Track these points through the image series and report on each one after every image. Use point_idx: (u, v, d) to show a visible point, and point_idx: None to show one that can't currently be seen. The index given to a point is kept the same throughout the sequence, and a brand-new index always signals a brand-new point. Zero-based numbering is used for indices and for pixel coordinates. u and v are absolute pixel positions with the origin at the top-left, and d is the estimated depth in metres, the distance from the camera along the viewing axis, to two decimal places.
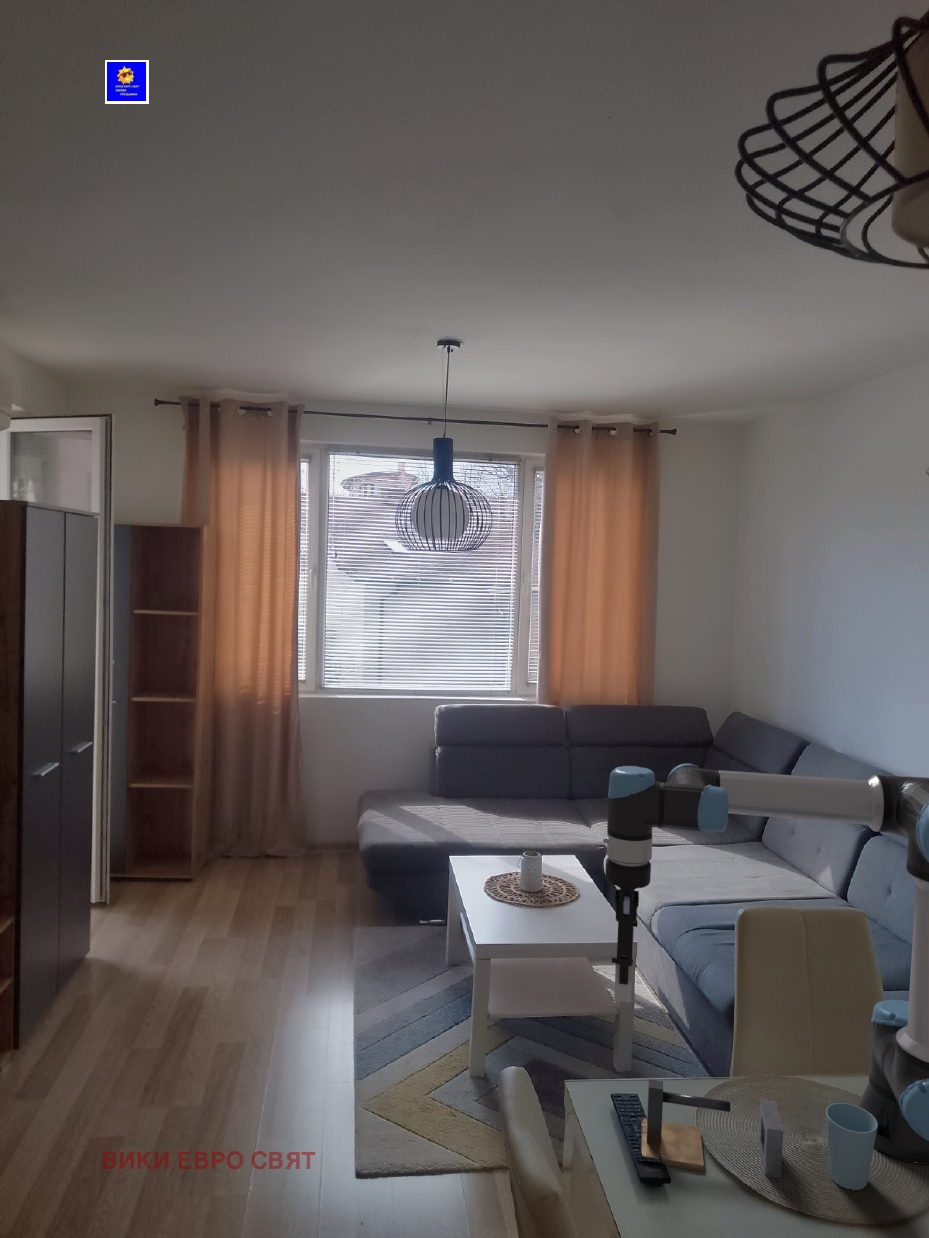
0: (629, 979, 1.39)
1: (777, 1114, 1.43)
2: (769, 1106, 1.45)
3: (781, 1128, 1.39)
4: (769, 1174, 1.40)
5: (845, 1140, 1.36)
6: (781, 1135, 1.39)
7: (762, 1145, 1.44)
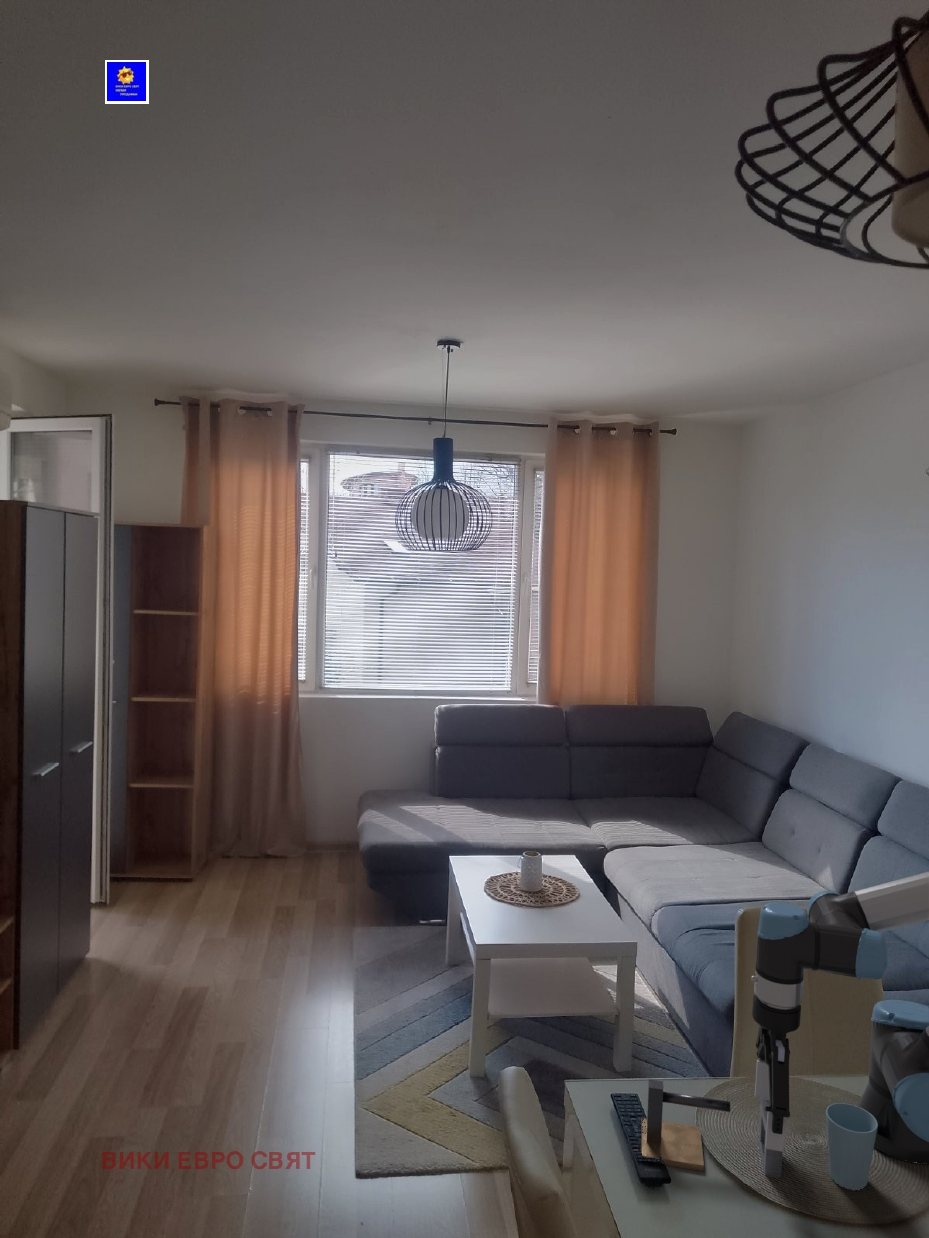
0: (782, 1128, 1.36)
1: None
2: None
3: None
4: (769, 1174, 1.40)
5: (845, 1140, 1.36)
6: None
7: (762, 1145, 1.44)
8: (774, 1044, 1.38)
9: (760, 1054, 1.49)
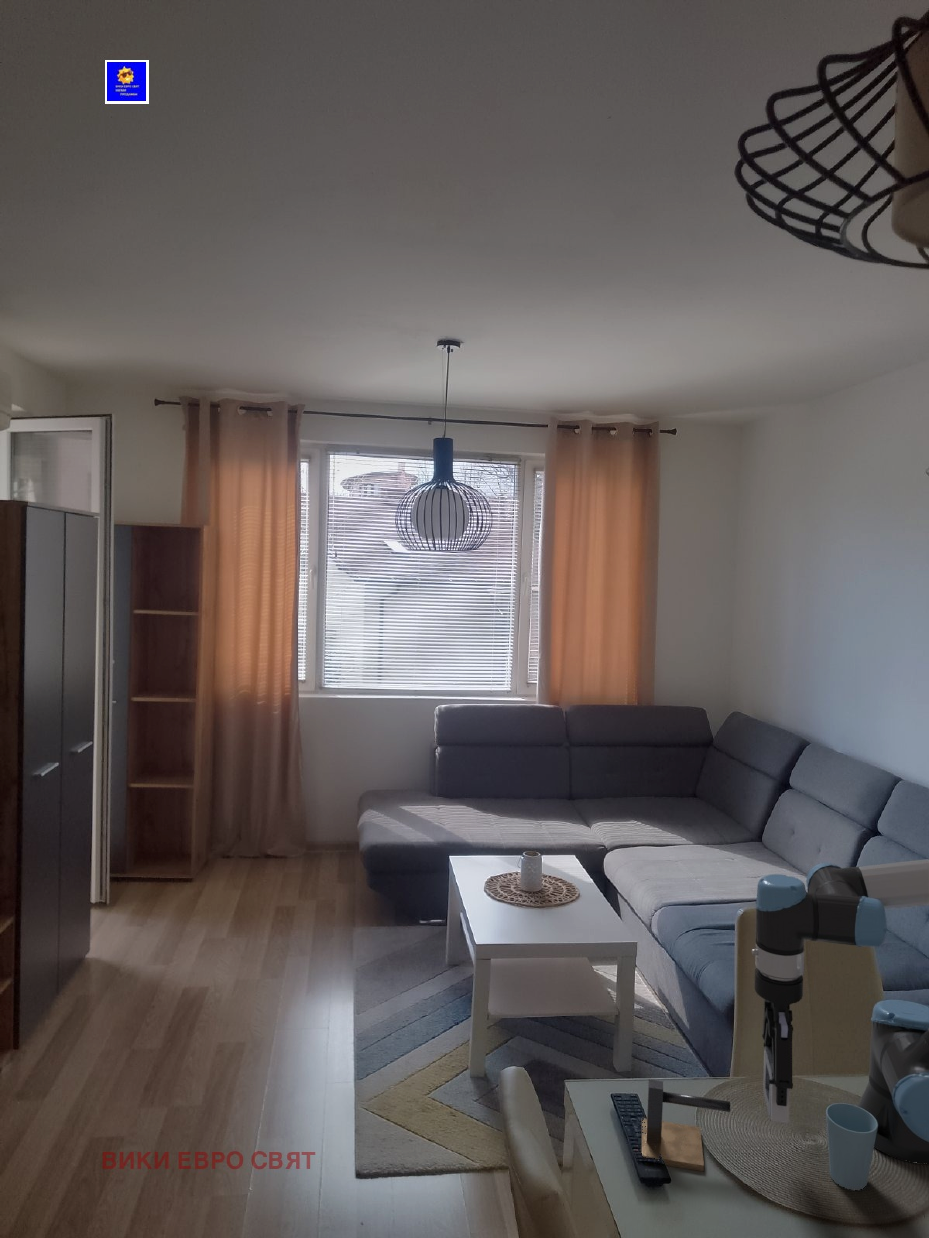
0: (786, 1100, 1.38)
1: None
2: None
3: None
4: None
5: (845, 1140, 1.36)
6: None
7: (767, 1092, 1.44)
8: (777, 1018, 1.38)
9: (767, 1042, 1.47)
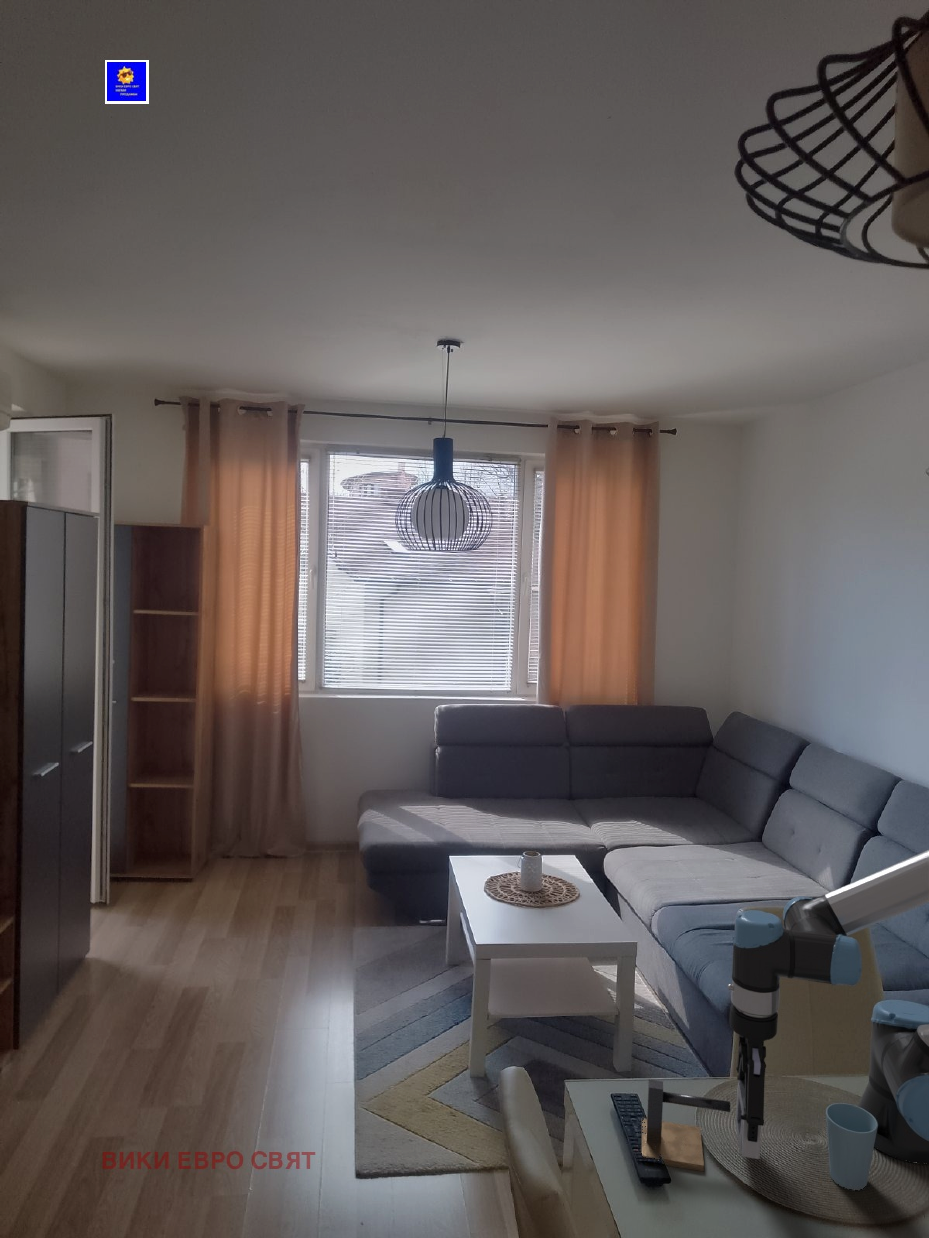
0: (757, 1135, 1.38)
1: None
2: None
3: None
4: None
5: (845, 1140, 1.36)
6: None
7: (739, 1125, 1.45)
8: (751, 1054, 1.39)
9: (740, 1075, 1.47)
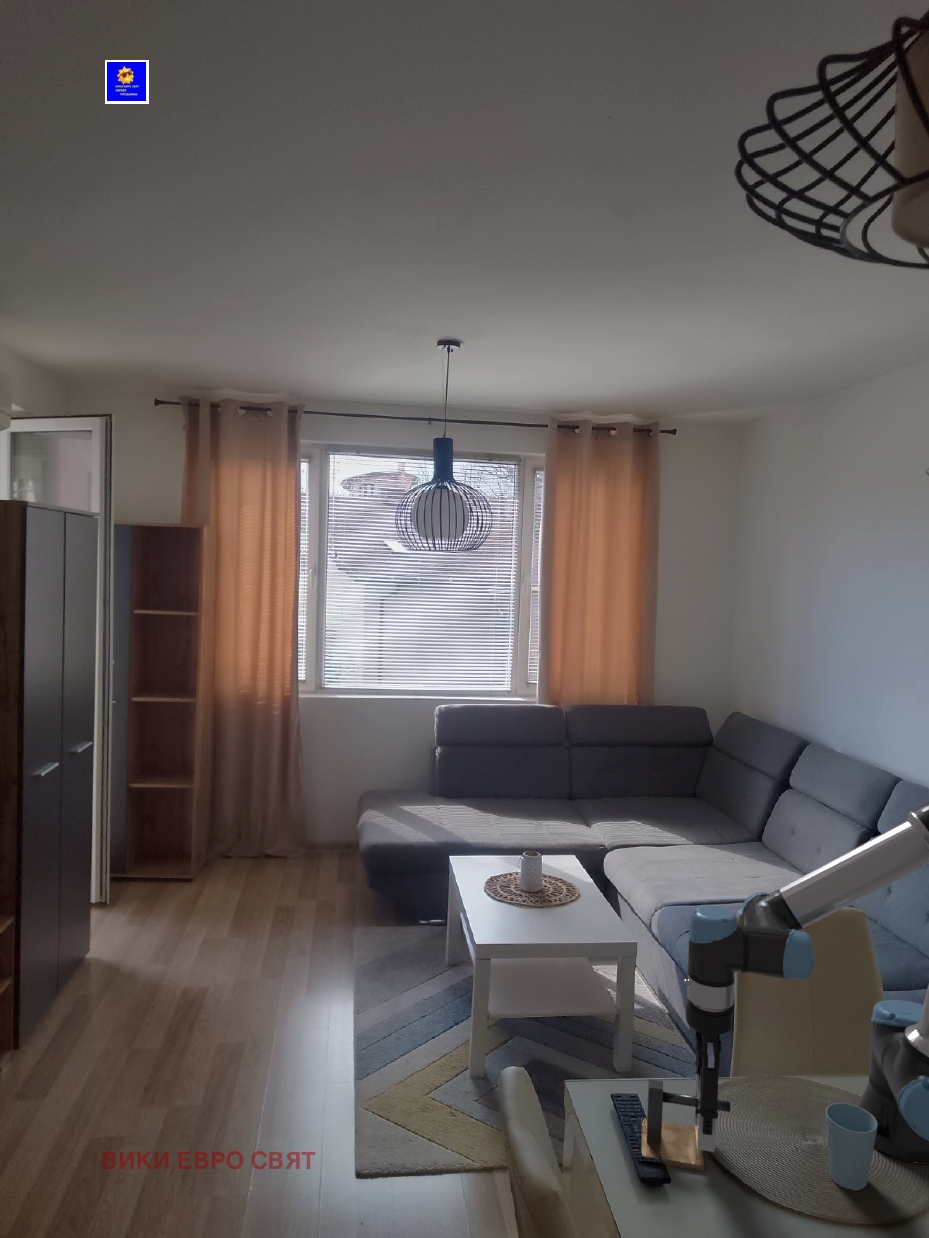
0: (712, 1129, 1.40)
1: None
2: None
3: None
4: None
5: (845, 1140, 1.36)
6: None
7: (696, 1119, 1.46)
8: (705, 1048, 1.40)
9: (698, 1070, 1.49)
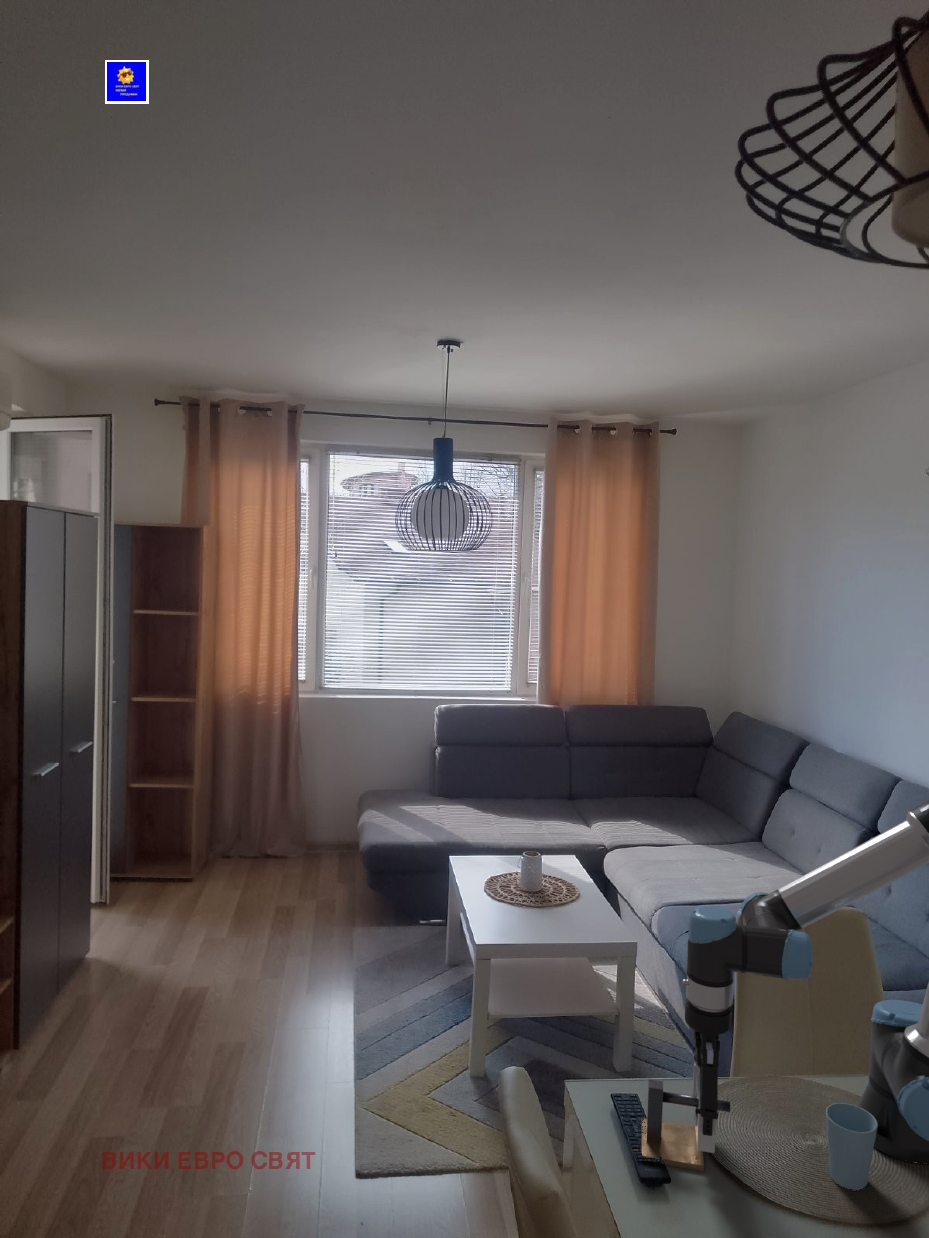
0: (713, 1129, 1.38)
1: None
2: None
3: None
4: None
5: (845, 1140, 1.36)
6: None
7: (697, 1119, 1.46)
8: (704, 1047, 1.40)
9: (696, 1057, 1.51)
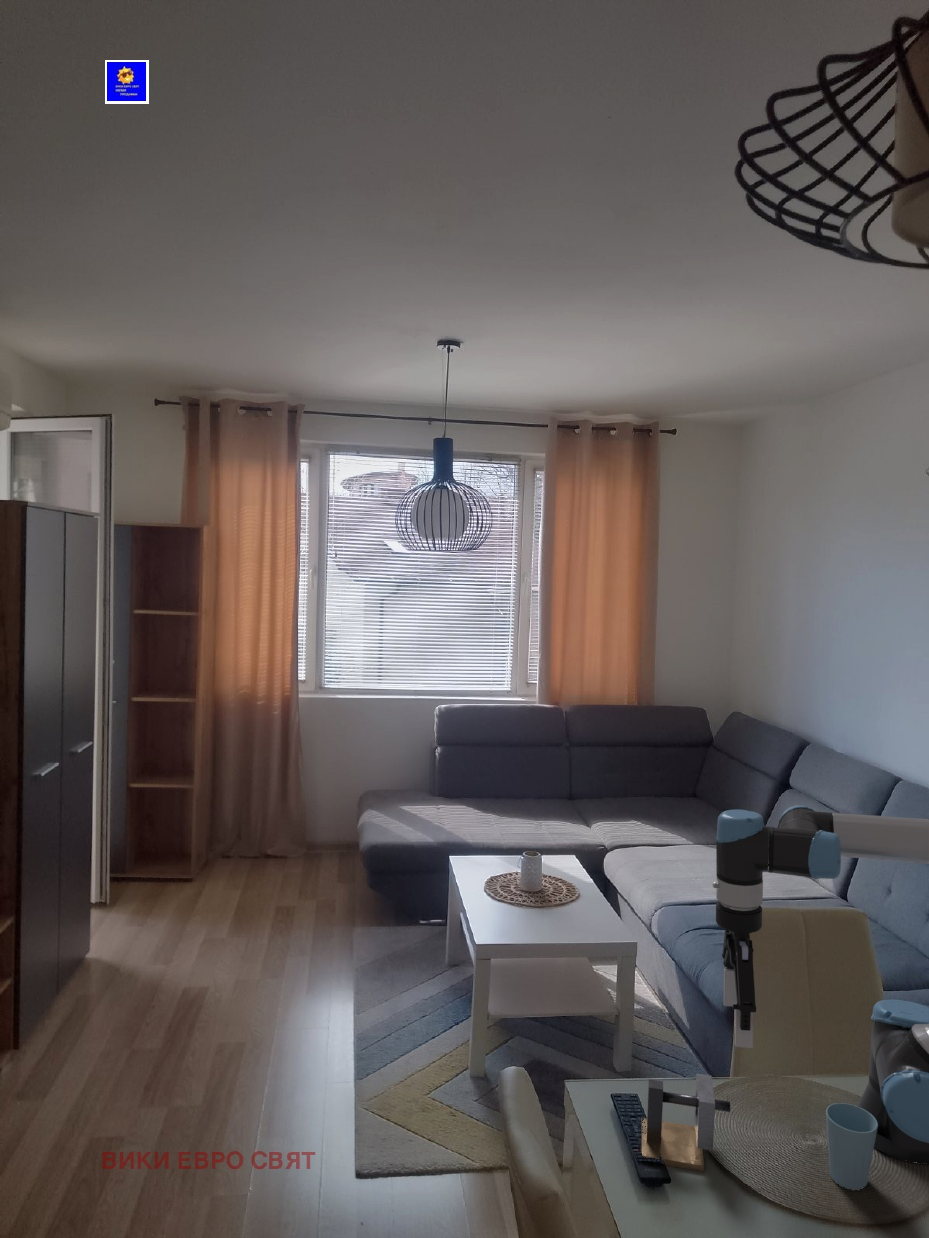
0: (750, 1025, 1.39)
1: (711, 1088, 1.45)
2: (704, 1080, 1.47)
3: (713, 1101, 1.41)
4: (701, 1146, 1.41)
5: (845, 1140, 1.36)
6: (713, 1108, 1.40)
7: (696, 1118, 1.46)
8: (738, 945, 1.42)
9: (726, 962, 1.53)
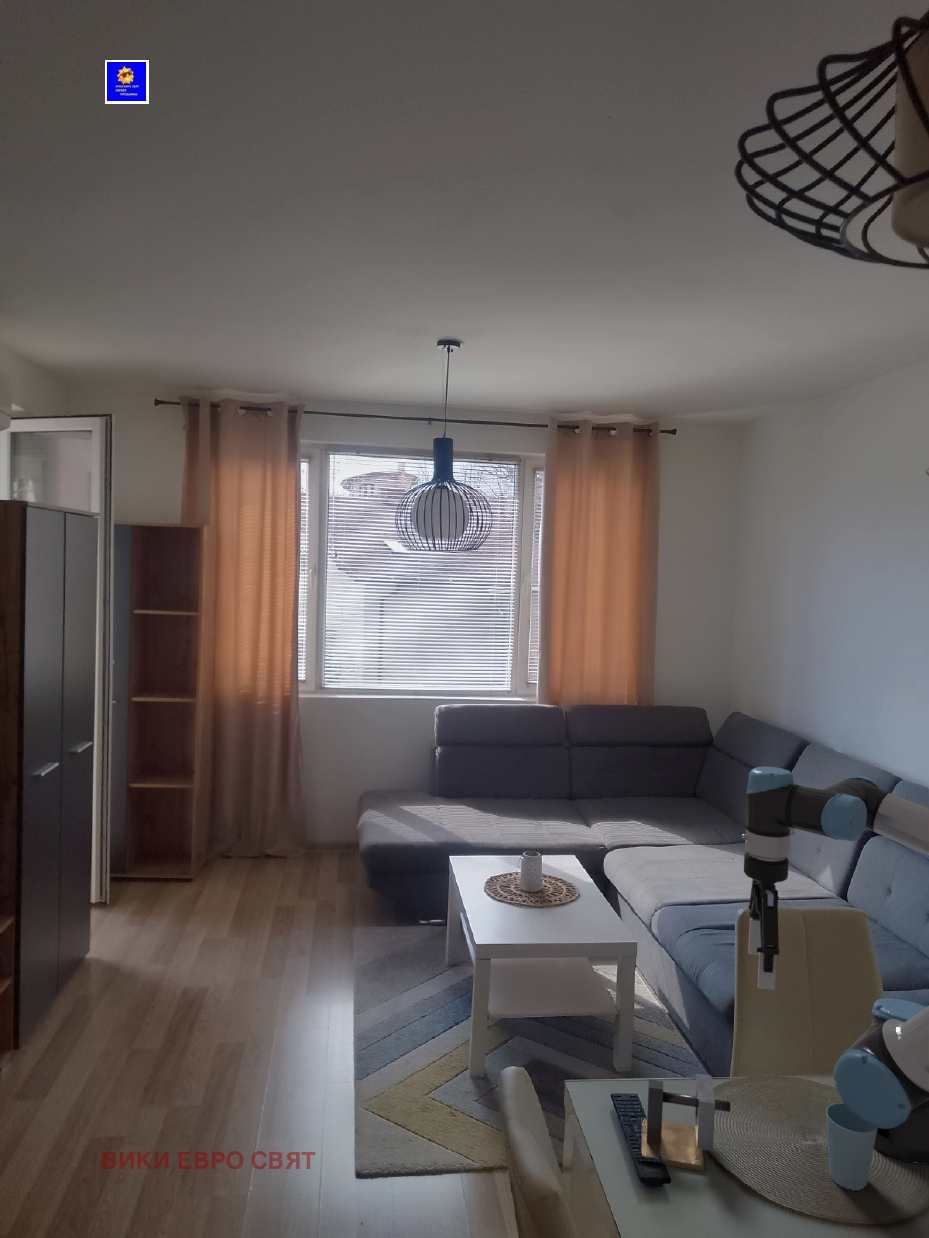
0: (773, 968, 1.47)
1: (711, 1088, 1.45)
2: (704, 1080, 1.47)
3: (713, 1101, 1.41)
4: (701, 1146, 1.41)
5: (845, 1140, 1.36)
6: (713, 1108, 1.40)
7: (697, 1119, 1.46)
8: (764, 893, 1.49)
9: (752, 913, 1.60)
